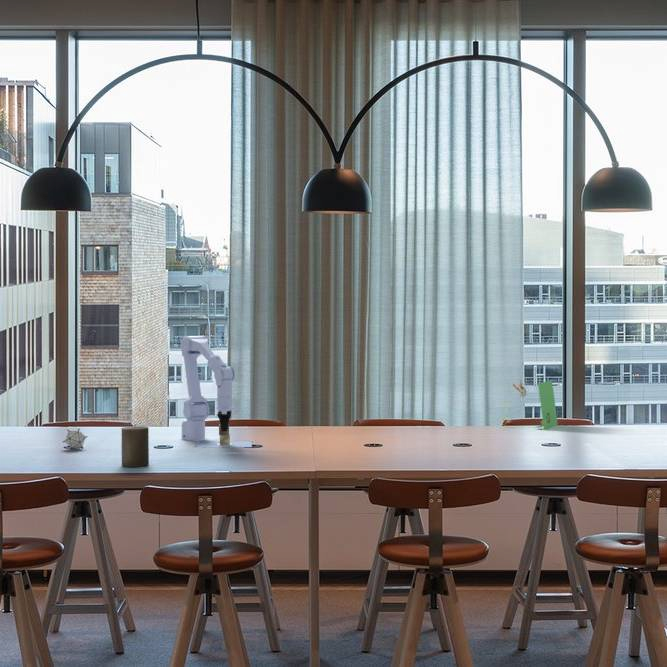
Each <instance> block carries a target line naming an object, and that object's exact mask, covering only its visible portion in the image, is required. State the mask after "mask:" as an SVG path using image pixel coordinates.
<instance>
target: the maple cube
mask: <svg viewBox="0 0 667 667" xmlns="http://www.w3.org/2000/svg"><path fill="white" fill-rule="evenodd" d="M219 442H220V445H230V442H231V433H229V435H219Z"/></svg>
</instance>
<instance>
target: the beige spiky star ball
mask: <svg viewBox="0 0 667 667" xmlns="http://www.w3.org/2000/svg"><path fill="white" fill-rule="evenodd" d="M66 430H67V435H66V437H65V439H64V440H63V441H62V443H66V445H68V446H69V447H70V450H71V451H72V450H73V449H79V448H80V449H82V450H83V449H84V447H83V446H84V443H85V440H86V439H87V438H88V437H89V436H88V435H85V434H83V433H82V431H81V429H80V428H77V430H69V429H66Z"/></svg>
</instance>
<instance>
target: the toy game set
mask: <svg viewBox="0 0 667 667" xmlns="http://www.w3.org/2000/svg"><path fill="white" fill-rule="evenodd" d="M553 385H554V384H553V380H551V379H550V380H548V381H543V382H539V383H538V386H537V387H538V393H539V400H540V407H541V416H542V420H540V425H537V426H535V429H536V428H537V429H538V428H543V430H544V431H547V430H548V429H551V428H553V427H557V426H558V417H557V410H556V401H555V392H554V386H553ZM512 386H513V387H514V389H516V390H517V391H518V392H519V393H520V395H519V397H520V398H522V399H524V398H526V396H527V394H526V393H527V389H526V388H525V387H524V386H523V382H522V379H520V381H519V385H518V386H519V387H517V386H516V384H515V383H512ZM508 387H510V385H505V386H504V388H508ZM500 403H505V401H504V400H503V401H500ZM509 403H511V402H510V401H509V402H506V404H509ZM504 409H505V410H507V409H509V407H505V408H504ZM505 410H504V411H503V412H505ZM499 419H500V420H498V421H500V422H501V421H502V422H503V417H500V418H499ZM507 420H511V418H510V417H509V418H507ZM511 422H512V421H507V423H511ZM503 425H504V424H501V426H503Z"/></svg>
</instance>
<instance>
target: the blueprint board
mask: <svg viewBox="0 0 667 667" xmlns="http://www.w3.org/2000/svg"><path fill="white" fill-rule="evenodd" d="M252 447H253V445H252V441H230V445H220V441H197V445H196V448H197V449H198V448H199V449H200V448H202V449H203V448H252Z"/></svg>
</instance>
